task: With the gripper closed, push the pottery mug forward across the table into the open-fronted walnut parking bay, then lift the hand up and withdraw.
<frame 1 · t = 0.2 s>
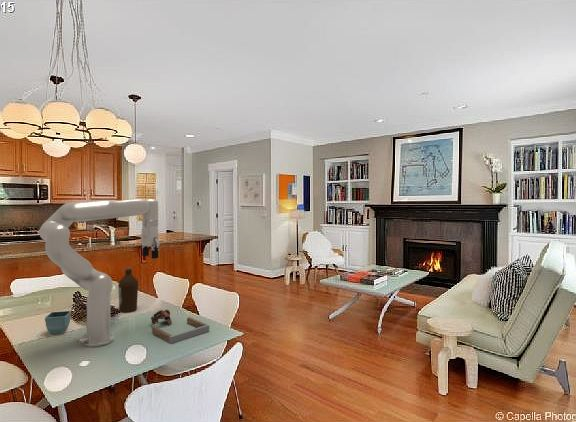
hand: (150, 257, 176), 36 cm above the table, tool pointing down, fingers open, 9 cm apart
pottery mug: (162, 324, 183), on the table
parking bay: (180, 332, 172), on the table
olive oil: (128, 310, 203), on the table
flower pot: (58, 332, 168), on the table
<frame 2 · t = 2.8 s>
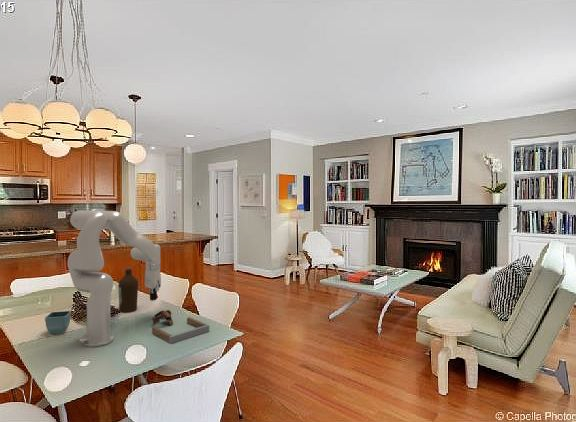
hand: (153, 299, 190), 10 cm above the table, tool pointing down, fingers closed
nothing on the table moved.
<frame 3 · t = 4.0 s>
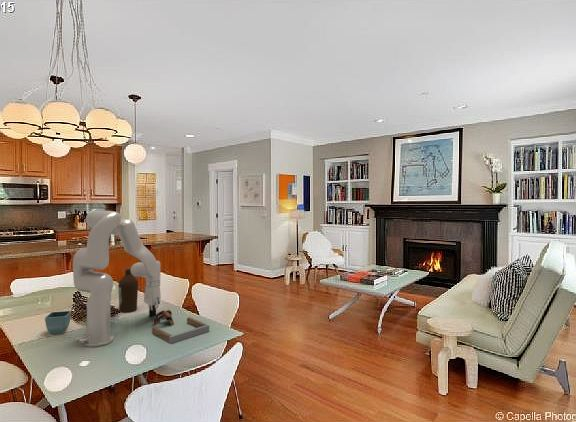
hand: (152, 316, 190), 1 cm above the table, tool pointing down, fingers closed
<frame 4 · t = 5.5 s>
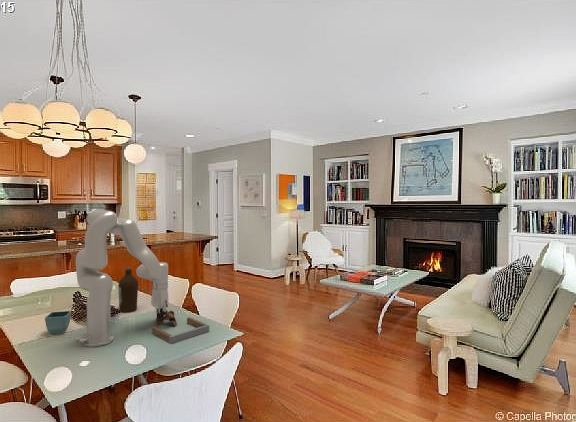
hand: (160, 319, 185), 1 cm above the table, tool pointing down, fingers closed
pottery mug: (167, 325, 181), on the table, touching gripper
everything else where it was.
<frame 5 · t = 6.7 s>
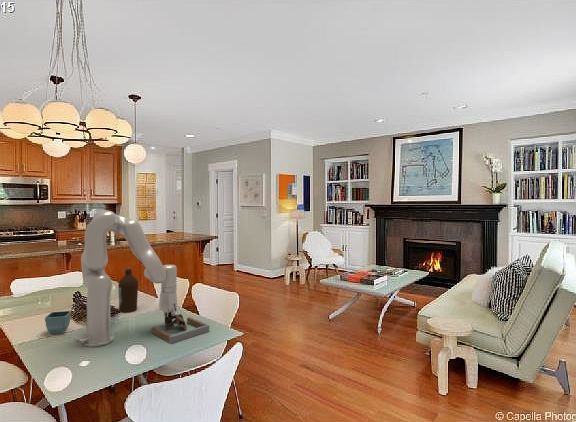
hand: (168, 324, 179), 1 cm above the table, tool pointing down, fingers closed
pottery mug: (176, 329, 175), on the table, touching gripper
everything else where it was.
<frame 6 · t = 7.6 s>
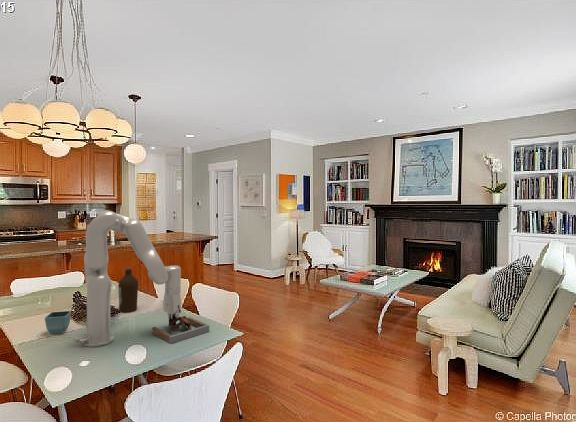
hand: (172, 325, 176), 1 cm above the table, tool pointing down, fingers closed
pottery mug: (181, 331, 173), on the table
everything else where it was.
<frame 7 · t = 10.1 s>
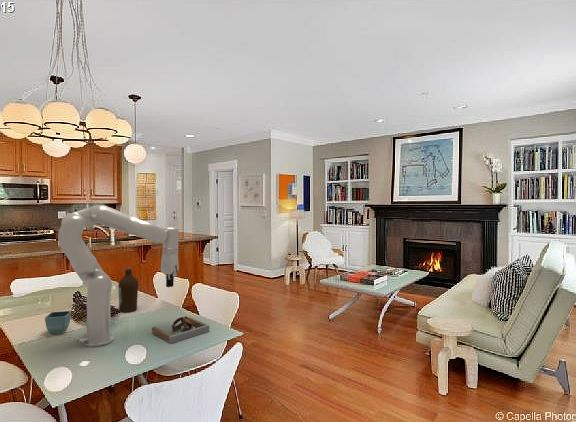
hand: (169, 286, 177), 21 cm above the table, tool pointing down, fingers closed
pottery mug: (183, 331, 173), on the table
everything else where it was.
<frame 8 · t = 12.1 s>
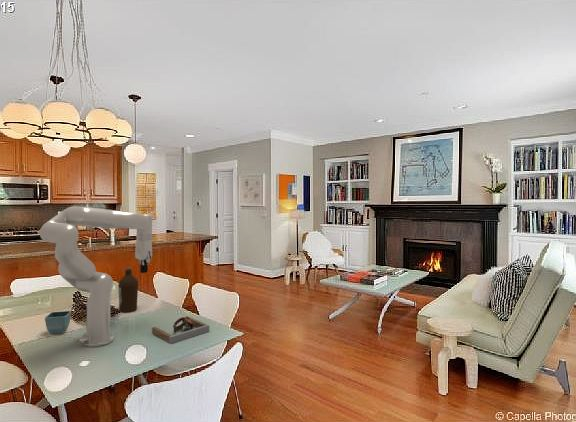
hand: (143, 272, 181), 27 cm above the table, tool pointing down, fingers closed
nothing on the table moved.
at the end: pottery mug inside the target area (2.3 cm from its centre), on the table; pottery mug tilted 0° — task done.
